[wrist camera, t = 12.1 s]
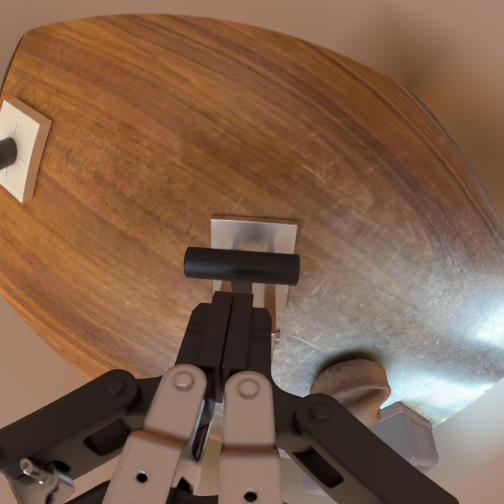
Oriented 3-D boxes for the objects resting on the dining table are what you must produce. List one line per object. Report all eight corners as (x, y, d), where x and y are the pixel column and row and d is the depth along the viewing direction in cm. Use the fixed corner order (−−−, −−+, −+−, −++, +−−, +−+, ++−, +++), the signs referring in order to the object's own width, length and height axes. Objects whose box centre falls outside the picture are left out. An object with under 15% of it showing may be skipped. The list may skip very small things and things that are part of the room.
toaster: (357, 456, 72) (362, 497, 56) (298, 441, 60) (299, 497, 45) (433, 423, 60) (444, 467, 44) (399, 400, 48) (415, 466, 33)
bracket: (212, 214, 29) (178, 286, 18) (296, 220, 29) (311, 297, 18) (215, 300, 35) (195, 382, 24) (284, 305, 35) (287, 390, 24)
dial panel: (15, 97, 21) (3, 99, 19) (52, 121, 24) (39, 124, 21) (-1, 167, 26) (-12, 173, 24) (32, 196, 29) (21, 203, 27)
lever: (190, 233, 14) (179, 274, 12) (299, 241, 13) (300, 284, 12) (215, 323, 24) (212, 348, 23) (275, 328, 24) (274, 353, 23)
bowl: (415, 368, 40) (416, 419, 33) (357, 388, 49) (354, 431, 42) (361, 337, 35) (358, 403, 28) (296, 362, 44) (287, 416, 37)
